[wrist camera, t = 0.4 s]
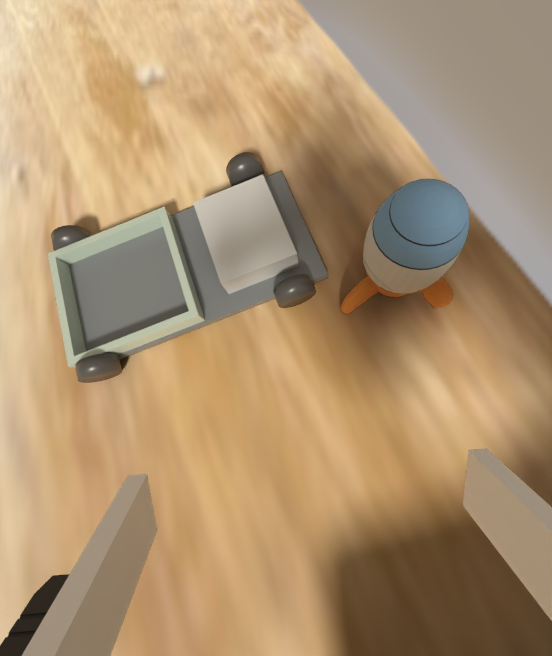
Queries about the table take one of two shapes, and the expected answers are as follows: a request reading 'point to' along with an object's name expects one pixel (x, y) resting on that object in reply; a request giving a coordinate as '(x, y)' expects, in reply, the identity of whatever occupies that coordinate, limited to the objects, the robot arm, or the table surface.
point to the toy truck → (180, 269)
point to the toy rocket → (413, 244)
